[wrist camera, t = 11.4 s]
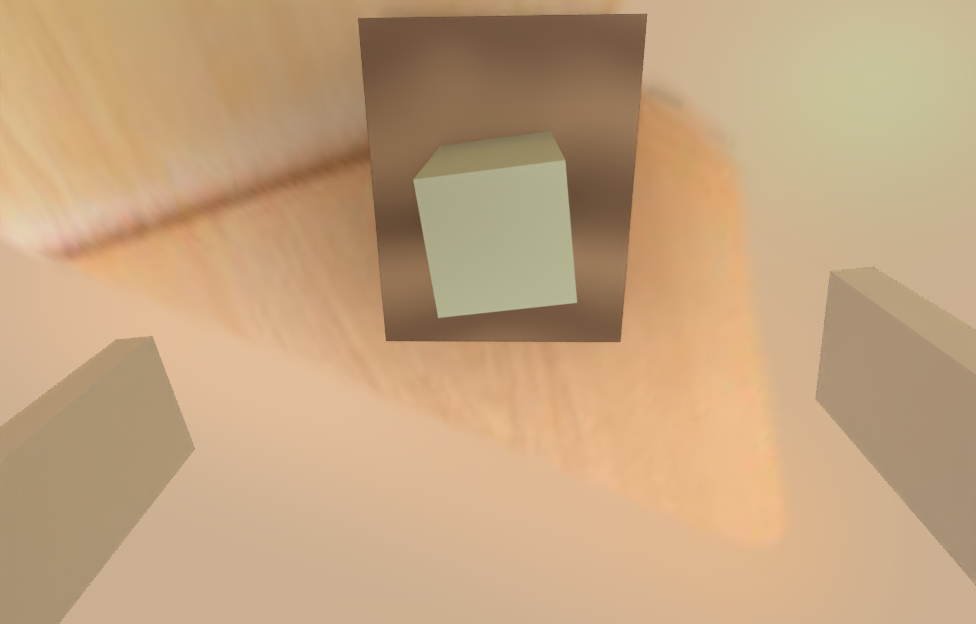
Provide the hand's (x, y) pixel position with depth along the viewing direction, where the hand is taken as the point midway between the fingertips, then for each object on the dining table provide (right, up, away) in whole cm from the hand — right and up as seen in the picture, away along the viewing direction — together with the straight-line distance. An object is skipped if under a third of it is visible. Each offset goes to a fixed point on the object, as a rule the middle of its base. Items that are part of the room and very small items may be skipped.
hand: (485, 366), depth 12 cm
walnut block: (+1, +8, +21) cm, 22 cm away
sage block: (+1, +7, +16) cm, 17 cm away
